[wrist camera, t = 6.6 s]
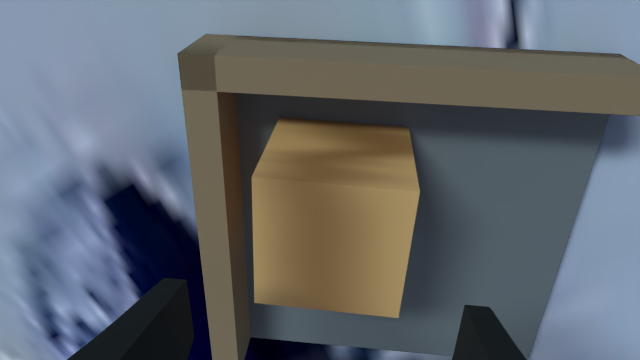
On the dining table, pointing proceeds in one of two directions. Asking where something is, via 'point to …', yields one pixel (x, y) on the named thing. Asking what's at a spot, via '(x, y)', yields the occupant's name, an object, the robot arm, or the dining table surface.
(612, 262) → the dining table surface
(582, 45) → the dining table surface
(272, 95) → the arena
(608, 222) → the dining table surface
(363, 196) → the block
